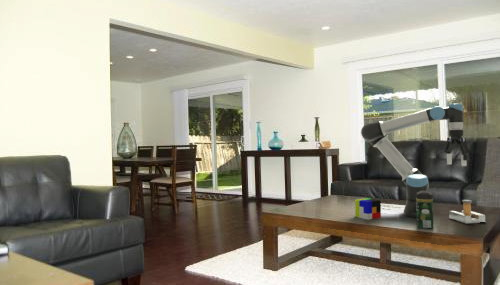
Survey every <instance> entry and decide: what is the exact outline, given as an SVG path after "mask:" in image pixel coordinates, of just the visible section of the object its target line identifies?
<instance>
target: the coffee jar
mask: <svg viewBox="0 0 500 285" xmlns="http://www.w3.org/2000/svg"><path fill="white" fill-rule="evenodd" d="M433 196H434V195H433V193H432V192H431V191H429V190H428V191H420V192H417V194H416V212H417V217H416V226H417V228H420V229H424V230H425V229H426V230H427V229H433V228H434V197H433Z"/></svg>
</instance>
